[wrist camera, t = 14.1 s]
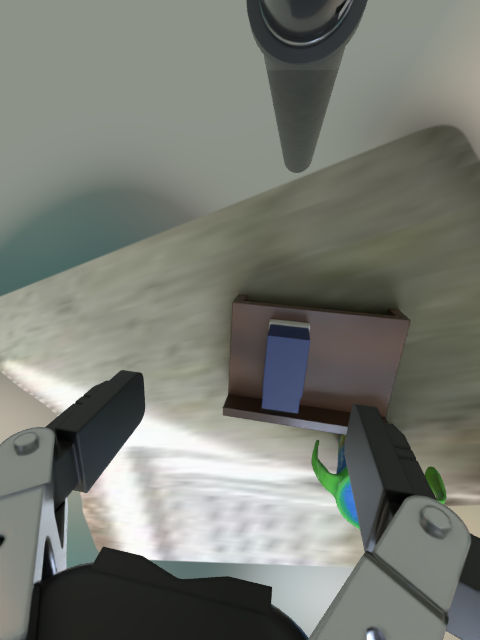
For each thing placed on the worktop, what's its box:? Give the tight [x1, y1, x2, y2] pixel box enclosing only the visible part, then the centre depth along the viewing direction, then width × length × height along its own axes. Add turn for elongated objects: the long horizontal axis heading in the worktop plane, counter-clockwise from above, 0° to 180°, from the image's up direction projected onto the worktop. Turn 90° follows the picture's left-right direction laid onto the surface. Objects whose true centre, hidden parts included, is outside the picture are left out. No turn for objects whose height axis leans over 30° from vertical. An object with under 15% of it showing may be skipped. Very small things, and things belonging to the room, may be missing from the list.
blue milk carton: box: [262, 319, 310, 413], centre depth 35 cm, size 11×5×5 cm, turn 177°
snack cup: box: [312, 434, 446, 529], centre depth 38 cm, size 16×10×10 cm
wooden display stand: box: [223, 295, 410, 435], centre depth 37 cm, size 14×20×7 cm
